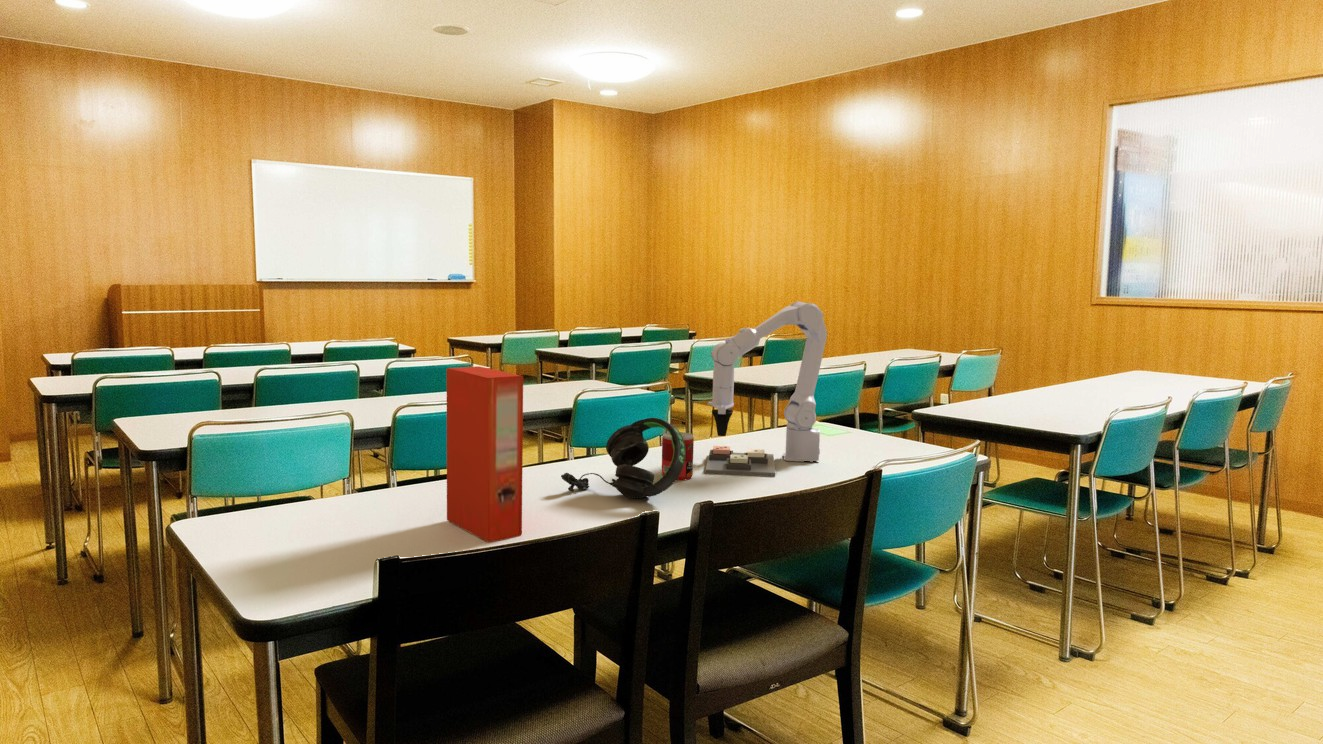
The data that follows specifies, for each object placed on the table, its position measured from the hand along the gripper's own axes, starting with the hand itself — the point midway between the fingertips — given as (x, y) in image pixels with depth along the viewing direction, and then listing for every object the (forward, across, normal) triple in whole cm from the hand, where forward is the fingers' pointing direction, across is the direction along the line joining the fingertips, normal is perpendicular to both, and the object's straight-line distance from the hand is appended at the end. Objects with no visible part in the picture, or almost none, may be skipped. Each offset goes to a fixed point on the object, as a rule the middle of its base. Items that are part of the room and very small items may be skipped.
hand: (721, 435), depth 236 cm
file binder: (+8, +69, -46) cm, 83 cm away
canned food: (+7, +20, -10) cm, 24 cm away
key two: (+5, +10, +5) cm, 12 cm away
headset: (+8, +41, -21) cm, 46 cm away
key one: (+5, +2, +9) cm, 11 cm away
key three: (+5, 0, 0) cm, 5 cm away
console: (+7, +4, +6) cm, 10 cm away
